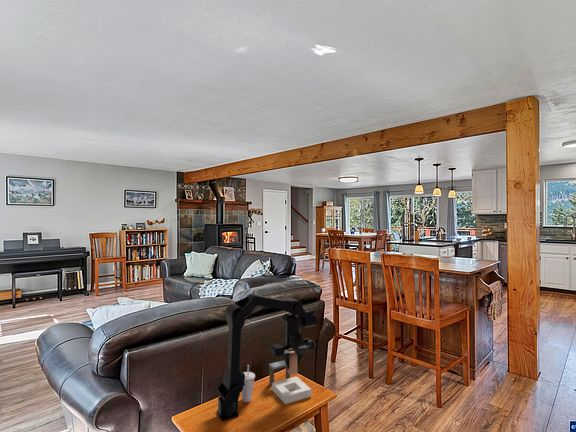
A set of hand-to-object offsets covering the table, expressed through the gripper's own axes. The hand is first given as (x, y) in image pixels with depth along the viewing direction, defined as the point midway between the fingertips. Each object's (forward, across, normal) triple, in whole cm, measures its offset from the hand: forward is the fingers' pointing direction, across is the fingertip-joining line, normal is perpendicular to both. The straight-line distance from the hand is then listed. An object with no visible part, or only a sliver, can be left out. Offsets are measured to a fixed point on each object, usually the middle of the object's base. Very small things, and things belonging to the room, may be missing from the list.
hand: (292, 367), depth 137 cm
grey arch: (+11, 0, +10) cm, 15 cm away
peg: (+2, 0, 0) cm, 2 cm away
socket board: (+11, 0, 0) cm, 11 cm away
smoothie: (+11, -18, +5) cm, 22 cm away
